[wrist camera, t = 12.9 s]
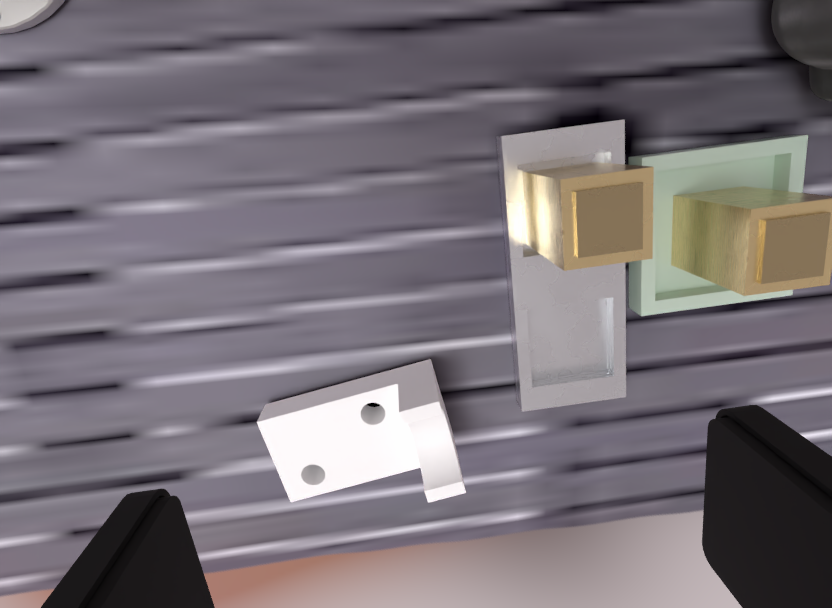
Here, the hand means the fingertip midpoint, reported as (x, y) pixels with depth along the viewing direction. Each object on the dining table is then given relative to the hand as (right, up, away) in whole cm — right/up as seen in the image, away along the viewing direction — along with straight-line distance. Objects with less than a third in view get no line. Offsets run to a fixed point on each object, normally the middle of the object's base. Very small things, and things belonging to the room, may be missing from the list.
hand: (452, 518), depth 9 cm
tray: (+20, +9, +28) cm, 36 cm away
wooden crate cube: (+20, +9, +27) cm, 35 cm away
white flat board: (+10, +6, +28) cm, 31 cm away
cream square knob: (+9, +11, +26) cm, 30 cm away
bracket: (-5, -5, +31) cm, 32 cm away
